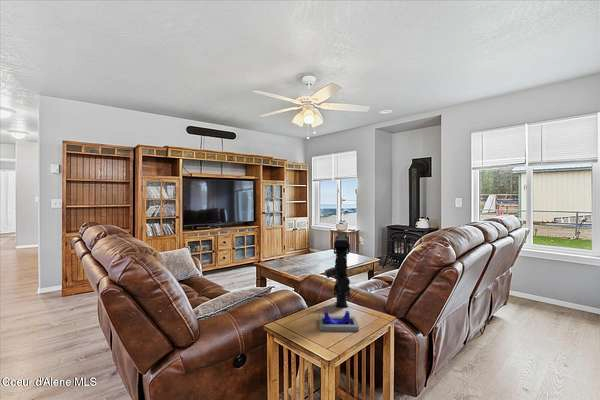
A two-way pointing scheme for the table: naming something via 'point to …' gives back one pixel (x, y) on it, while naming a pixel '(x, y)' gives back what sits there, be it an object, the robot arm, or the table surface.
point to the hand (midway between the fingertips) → (341, 292)
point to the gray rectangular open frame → (336, 326)
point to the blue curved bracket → (331, 321)
